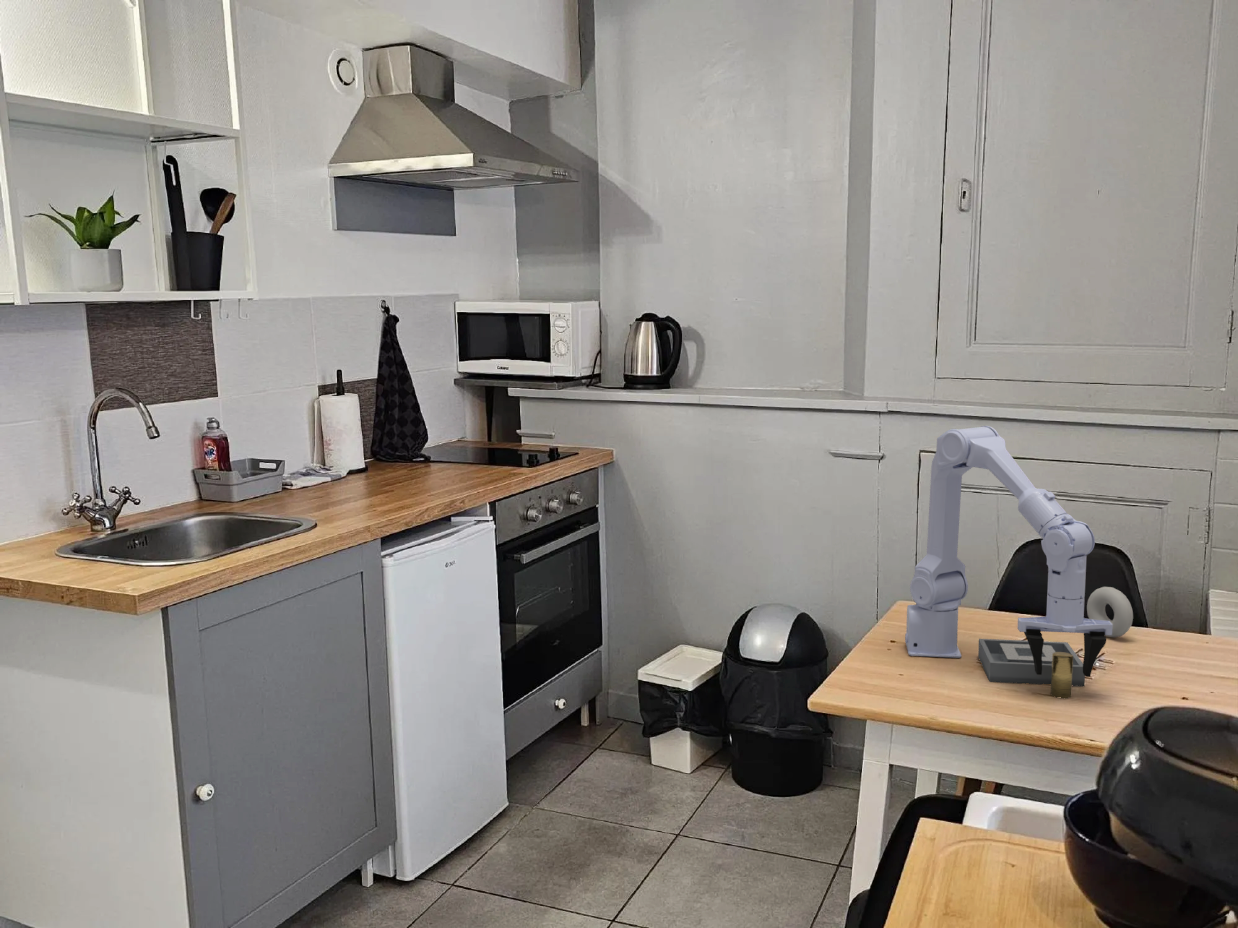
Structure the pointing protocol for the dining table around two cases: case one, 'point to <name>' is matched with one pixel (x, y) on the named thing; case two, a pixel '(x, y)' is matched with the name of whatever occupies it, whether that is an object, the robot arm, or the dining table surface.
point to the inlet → (1023, 653)
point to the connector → (1061, 674)
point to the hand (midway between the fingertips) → (1062, 673)
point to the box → (1023, 664)
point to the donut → (1118, 604)
